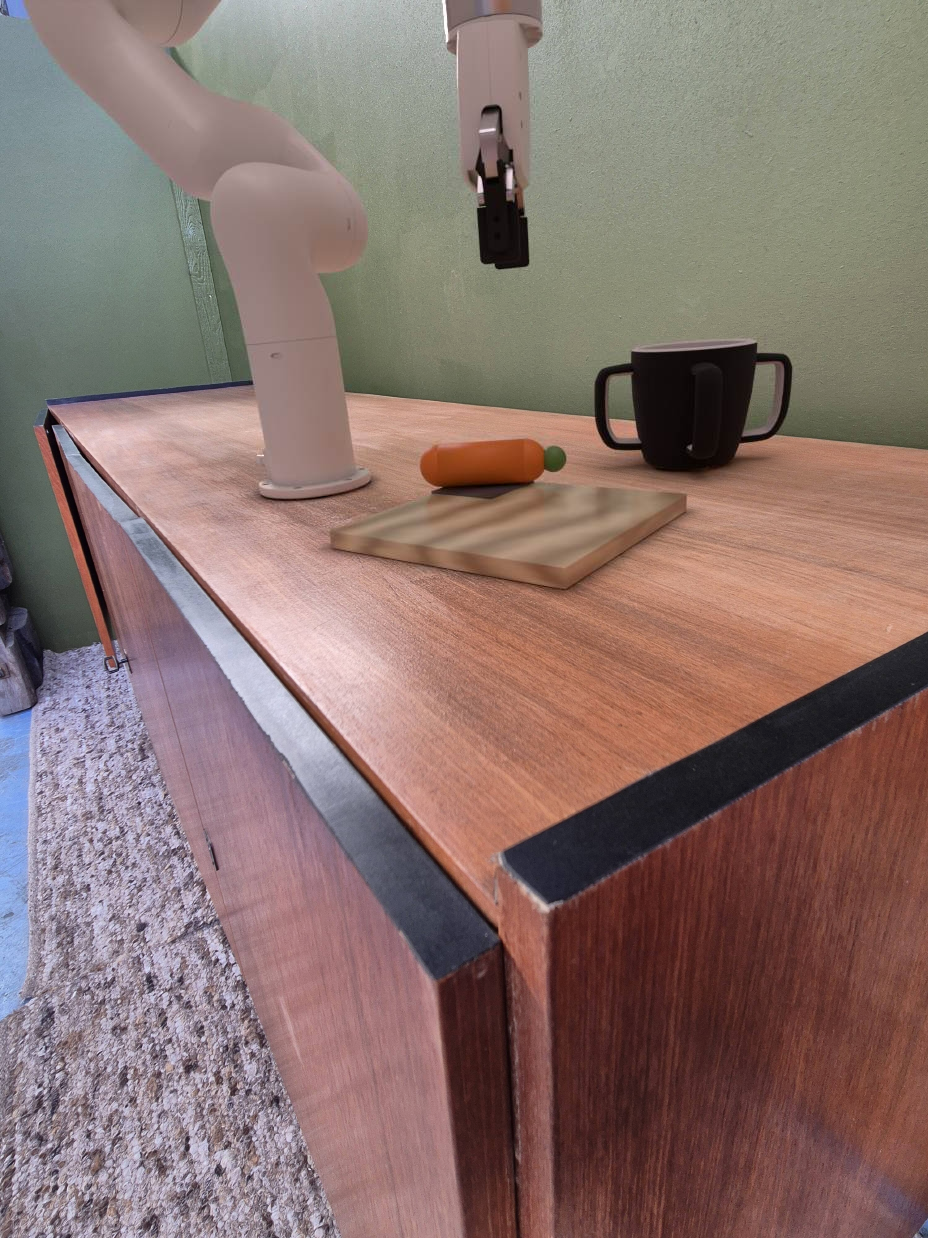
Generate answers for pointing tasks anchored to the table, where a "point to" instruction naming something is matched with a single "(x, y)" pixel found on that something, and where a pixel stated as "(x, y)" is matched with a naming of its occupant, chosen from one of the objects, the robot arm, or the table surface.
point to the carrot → (489, 462)
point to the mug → (693, 401)
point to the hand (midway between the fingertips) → (506, 265)
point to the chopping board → (514, 529)
